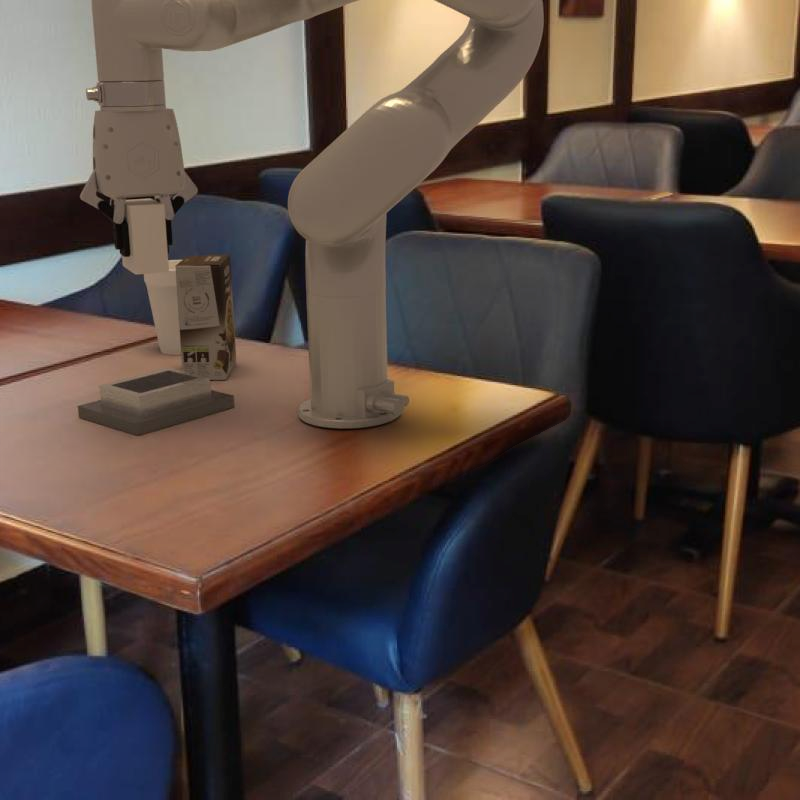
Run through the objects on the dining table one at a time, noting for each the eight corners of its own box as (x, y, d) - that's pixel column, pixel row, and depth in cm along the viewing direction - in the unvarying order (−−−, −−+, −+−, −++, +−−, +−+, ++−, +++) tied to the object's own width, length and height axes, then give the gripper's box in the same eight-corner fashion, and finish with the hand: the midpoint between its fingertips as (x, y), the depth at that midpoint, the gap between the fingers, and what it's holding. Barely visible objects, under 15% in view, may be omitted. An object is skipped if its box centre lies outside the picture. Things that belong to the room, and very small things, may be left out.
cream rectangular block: (168, 271, 143) (164, 204, 141) (135, 274, 142) (130, 206, 140) (154, 263, 150) (150, 198, 147) (122, 265, 148) (117, 200, 146)
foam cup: (183, 360, 176) (177, 272, 173) (137, 353, 181) (130, 267, 177) (225, 346, 184) (220, 262, 180) (179, 340, 189) (173, 258, 185)
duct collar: (234, 407, 152) (232, 376, 151) (137, 435, 142) (135, 403, 140) (174, 391, 160) (172, 362, 159) (78, 417, 149) (75, 386, 148)
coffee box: (228, 380, 165) (221, 264, 160) (181, 381, 165) (173, 264, 161) (238, 364, 174) (231, 253, 169) (193, 364, 174) (186, 253, 169)
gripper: (65, 100, 133) (80, 264, 139) (211, 96, 140) (220, 252, 145) (53, 99, 140) (68, 255, 145) (193, 94, 147) (203, 244, 152)
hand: (144, 252), depth 145 cm, fingers closed on cream rectangular block, 4 cm apart
